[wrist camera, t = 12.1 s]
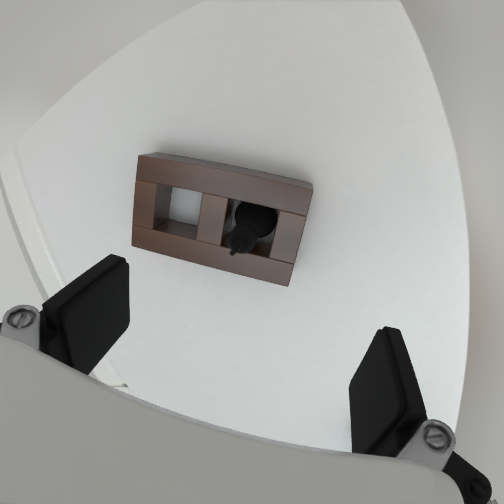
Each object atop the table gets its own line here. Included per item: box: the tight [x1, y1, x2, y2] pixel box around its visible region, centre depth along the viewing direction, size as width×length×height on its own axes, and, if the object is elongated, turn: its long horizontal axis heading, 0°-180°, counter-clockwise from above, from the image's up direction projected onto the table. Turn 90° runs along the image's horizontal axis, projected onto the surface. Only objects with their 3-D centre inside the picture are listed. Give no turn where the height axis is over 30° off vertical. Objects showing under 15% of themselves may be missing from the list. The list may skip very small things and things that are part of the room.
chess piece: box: [228, 201, 277, 256], centre depth 28 cm, size 4×4×10 cm
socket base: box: [132, 152, 313, 287], centre depth 31 cm, size 10×17×4 cm, turn 79°
